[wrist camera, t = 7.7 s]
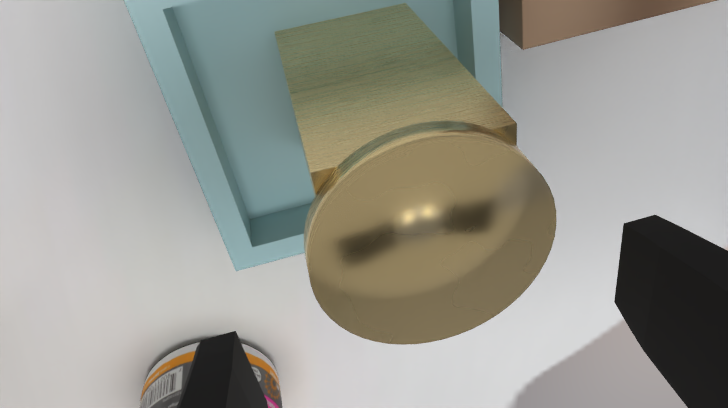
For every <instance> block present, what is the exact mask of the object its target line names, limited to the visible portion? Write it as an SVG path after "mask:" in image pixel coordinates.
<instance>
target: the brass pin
mask: <svg viewBox="0 0 728 408" xmlns="http://www.w3.org/2000/svg"><path fill="white" fill-rule="evenodd" d="M274 33H275V37H276V41H277V45H278V49H279V53H280V57H281V61H282V66H283V70H284V74H285V78H286V82H287V86H288V90H289V94H290V99H291V103H292V107H293V111H294V115H295V119H296V123H297V127H298V132H299V136H300V140H301V144H302V148H303V152H304V156H305V160H306V164H307V168H308V172H309V176H310V180H311V184H312V188H313V192H314V196H315V198H314V200H313V202H312V204H311V206H310V209H309V212H308V215H307V218H306V222H305V229H304V251H305V257H306V262H307V267H308V272H309V277H310V282H311V287H312V289H313V292H314V295H315V297H316V299H317V301H318V303H319V304H320V306H321V308H322V309H323V310H324V311H325V313H326V314H327V315H328V316H329V317H330V318H331V319H332V320H333V321H334V322H335V323H337V324H338V325H339V326H341V327H342V328H344V329H345V330H347V331H349V332H350V333H353V334H355V335H357V336H360V337H362V338H365V339H369V340H372V341H376V342H382V343H388V344H419V343H427V342H433V341H437V340H442V339H446V338H449V337H452V336H455V335H458V334H461V333H463V332H466V331H468V330H471V329H473V328H475V327H477V326H479V325H481V324H483V323H484V322H486V321H488V320H489V319H491V318H493V317H494V316H496V315H497V314H499V313H500V312H501V311H503V310H504V309H505V308H507V307H508V306H509V305H511V304H512V303H513V302H514V301H515V300H516V299H517V298H518V297H519V296H521V294H522V293H523V292H524V291H525V290H526V289H527V288H528V287H529V286H530V284H531V283H532V282H533V280H534V279H535V278H536V276H537V275H538V274H539V272H540V270H541V269H542V267H543V265H544V263H545V262H546V259H547V257H548V255H549V253H550V250H551V247H552V244H553V240H554V237H555V230H556V208H555V203H554V198H553V196H552V193H551V190H550V188H549V186H548V184H547V183H546V181H545V179H544V178H543V176H542V175H541V174H540V173H539V171H538V170H537V169H536V168H535V167H534V166H533V164H532V163H531V162H530V161H529V160H528V159H527V158H526V156H525V155H524V154H523V153H522V152H521V151H520V150H519V148H518V147H517V146H516V142H517V123H516V122H515V121H514V120H513V119H512V118H511V117H510V116H509V115H508V114H507V113H506V111H505V110H504V109H503V108H502V107H501V106H500V105H499V104H498V103H497V102H496V101H495V99H494V98H493V97H492V96H491V95H490V94H489V93H488V92H487V91H486V90H485V89H484V87H483V86H482V85H481V84H480V83H479V82H478V81H477V80H476V79H475V78H474V77H473V76H472V74H471V73H470V72H469V71H468V70H467V69H466V68H465V67H464V66H463V65H462V64H461V62H460V61H459V60H458V59H457V58H456V57H455V56H454V55H453V54H452V53H451V52H450V50H449V49H448V48H447V47H446V46H445V45H444V44H443V43H442V42H441V41H440V40H439V39H438V37H437V36H436V35H435V34H434V33H433V32H432V31H431V30H430V29H429V28H428V27H427V25H426V24H425V23H424V22H423V21H422V20H421V19H420V18H419V17H418V16H417V15H416V13H415V12H414V11H413V10H412V9H411V8H410V7H409V6H408V5H407V4H406V3H403V4H399V5H394V6H390V7H385V8H380V9H376V10H371V11H367V12H362V13H357V14H353V15H348V16H344V17H339V18H335V19H330V20H325V21H321V22H316V23H312V24H307V25H302V26H298V27H293V28H289V29H284V30H279V31H275V32H274Z"/></svg>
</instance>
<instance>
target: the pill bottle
mask: <svg viewBox="0 0 728 408" xmlns="http://www.w3.org/2000/svg"><path fill="white" fill-rule="evenodd" d="M199 343H200V342H198V343H194V344H191V345H188V346H185V347H182V348H180V349H178V350H176V351H174V352H172V353H170V354H169V355H167V356H166V357H164V358H163V359H162V360H160V361H159V362H158V363H157V364H156V365H155V366H154V367H153V369H152V370H151V371H150V373H149V374H148V376H147V378H146V381H145V383H144V387H143V390H142V396H141V402H140V408H177V405H178V403H179V400H180V397H181V394H182V391H183V388H184V386H185V383H186V380H187V377H188V374H189V370H190V367H191V364H192V361H193V358H194V355H195V351H196V348H197V346H198V344H199ZM242 347H243V349H244V351H245V353H246V356H247V358H248V360H249V362H250V364H251V367H252V369H253V371H254V373H255V376H256V378H257V380H258V382H259V384H260V387H261V389H262V391H263V393H264V396H265V398H266V400H267V404H268V408H282V401H281V392H280V385H279V378H278V374H277V371H276V369H275V367H274V366H273V364H272V362H271V361H270V360H269V359H268V358H267V357H266V356H264V355H263V354H262V353H261V352H259V351H257V350H256V349H254V348H252V347H250V346H248V345H245V344H242Z"/></svg>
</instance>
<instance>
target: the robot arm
mask: <svg viewBox="0 0 728 408" xmlns="http://www.w3.org/2000/svg"><path fill="white" fill-rule="evenodd" d="M615 304H616V305H617V307H618V309H619V311H620V312H621V314H622V316H623V317H624V319H625V321H626V323H627V324H628V326H629V328H630V329H631V331H632V333H633V334H634V336H635V337H636V339H637V341H638V342H639V344H640V345H641V347H642V349H643V350H644V352H645V353H646V354H647V356H648V357H649V358H650V360H651V361H652V362H653V363H654V365H655V366H656V367H657V369H658V370H659V371H660V372H661V374H662V375H663V376H664V378H665V379H666V380H667V382H668V383H669V384H670V385H671V387H672V388H673V389H674V390H675V392H676V393H677V394H678V396H679V397H680V398H681V399H682V401H683V402H684V403H685V404H686V406H687V407H688V408H728V251H727V250H725V249H723V248H721V247H719V246H717V245H715V244H713V243H711V242H709V241H707V240H705V239H703V238H701V237H699V236H697V235H696V234H694V233H692V232H690V231H688V230H686V229H684V228H682V227H680V226H678V225H676V224H673V223H671V222H669V221H667V220H665V219H663V218H661V217H659V216H657V215H653V216H649V217H646V218H642V219H638V220H635V221H631V222H628V223H624V226H623V235H622V243H621V252H620V260H619V268H618V277H617V285H616V294H615ZM177 408H268V404H267V400H266V398H265V396H264V393H263V391H262V389H261V387H260V384H259V382H258V380H257V378H256V376H255V373H254V371H253V369H252V367H251V364H250V362H249V360H248V358H247V356H246V353H245V351H244V349H243V347H242V344H241V342H240V340H239V338H238V335H237V333H236V331H234V332H230V333H226V334H223V335H219V336H216V337H212V338H208V339H205V340H201V341H200V343H199V344H198V346H197V348H196V351H195V355H194V358H193V361H192V364H191V367H190V370H189V374H188V377H187V380H186V383H185V386H184V388H183V391H182V394H181V397H180V400H179V403H178V405H177Z"/></svg>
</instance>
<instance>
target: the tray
mask: <svg viewBox="0 0 728 408" xmlns="http://www.w3.org/2000/svg"><path fill="white" fill-rule="evenodd" d="M124 2H125V4H126V7H127V9H128V12H129V14H130V16H131V19H132V21H133V24H134V26H135V28H136V31H137V33H138V36H139V38H140V41H141V43H142V45H143V48H144V50H145V53H146V55H147V57H148V60H149V62H150V65H151V67H152V70H153V72H154V74H155V77H156V79H157V82H158V84H159V86H160V89H161V91H162V94H163V96H164V99H165V101H166V103H167V106H168V108H169V111H170V113H171V115H172V118H173V120H174V123H175V125H176V128H177V130H178V132H179V135H180V137H181V140H182V142H183V144H184V147H185V149H186V152H187V154H188V157H189V159H190V161H191V164H192V166H193V169H194V171H195V173H196V176H197V178H198V181H199V183H200V186H201V188H202V190H203V193H204V195H205V198H206V200H207V202H208V205H209V207H210V210H211V212H212V215H213V217H214V219H215V222H216V224H217V227H218V229H219V231H220V234H221V236H222V239H223V241H224V244H225V246H226V248H227V251H228V253H229V256H230V258H231V260H232V263H233V265H234V268H235V270H236V271H239V270H243V269H246V268H250V267H254V266H257V265H261V264H265V263H268V262H272V261H276V260H279V259H283V258H287V257H290V256H294V255H298V254H301V253H305V251H304V229H305V222H306V218H307V215H308V212H309V209H310V206H311V204H312V202H313V200H314V198H315V196H314V192H313V188H312V184H311V180H310V176H309V172H308V168H307V164H306V160H305V156H304V152H303V148H302V144H301V140H300V136H299V132H298V127H297V123H296V119H295V115H294V111H293V107H292V103H291V99H290V94H289V90H288V86H287V82H286V78H285V74H284V70H283V66H282V61H281V57H280V53H279V49H278V45H277V41H276V37H275V33H274V32H275V31H279V30H284V29H289V28H293V27H298V26H302V25H307V24H312V23H316V22H321V21H325V20H330V19H335V18H339V17H344V16H348V15H353V14H357V13H362V12H367V11H371V10H376V9H380V8H385V7H390V6H394V5H399V4H403V3H406V4H407V5H408V6H409V7H410V8H411V9H412V10H413V11H414V12H415V13H416V15H417V16H418V17H419V18H420V19H421V20H422V21H423V22H424V23H425V24H426V25H427V27H428V28H429V29H430V30H431V31H432V32H433V33H434V34H435V35H436V36H437V37H438V39H439V40H440V41H441V42H442V43H443V44H444V45H445V46H446V47H447V48H448V49H449V50H450V52H451V53H452V54H453V55H454V56H455V57H456V58H457V59H458V60H459V61H460V62H461V64H462V65H463V66H464V67H465V68H466V69H467V70H468V71H469V72H470V73H471V74H472V76H473V77H474V78H475V79H476V80H477V81H478V82H479V83H480V84H481V85H482V86H483V87H484V89H485V90H486V91H487V92H488V93H489V94H490V95H491V96H492V97H493V98H494V99H495V101H496V102H497V103H498V104H499V105H500V106H501V107H502V84H501V56H500V29H499V1H498V0H124Z"/></svg>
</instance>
